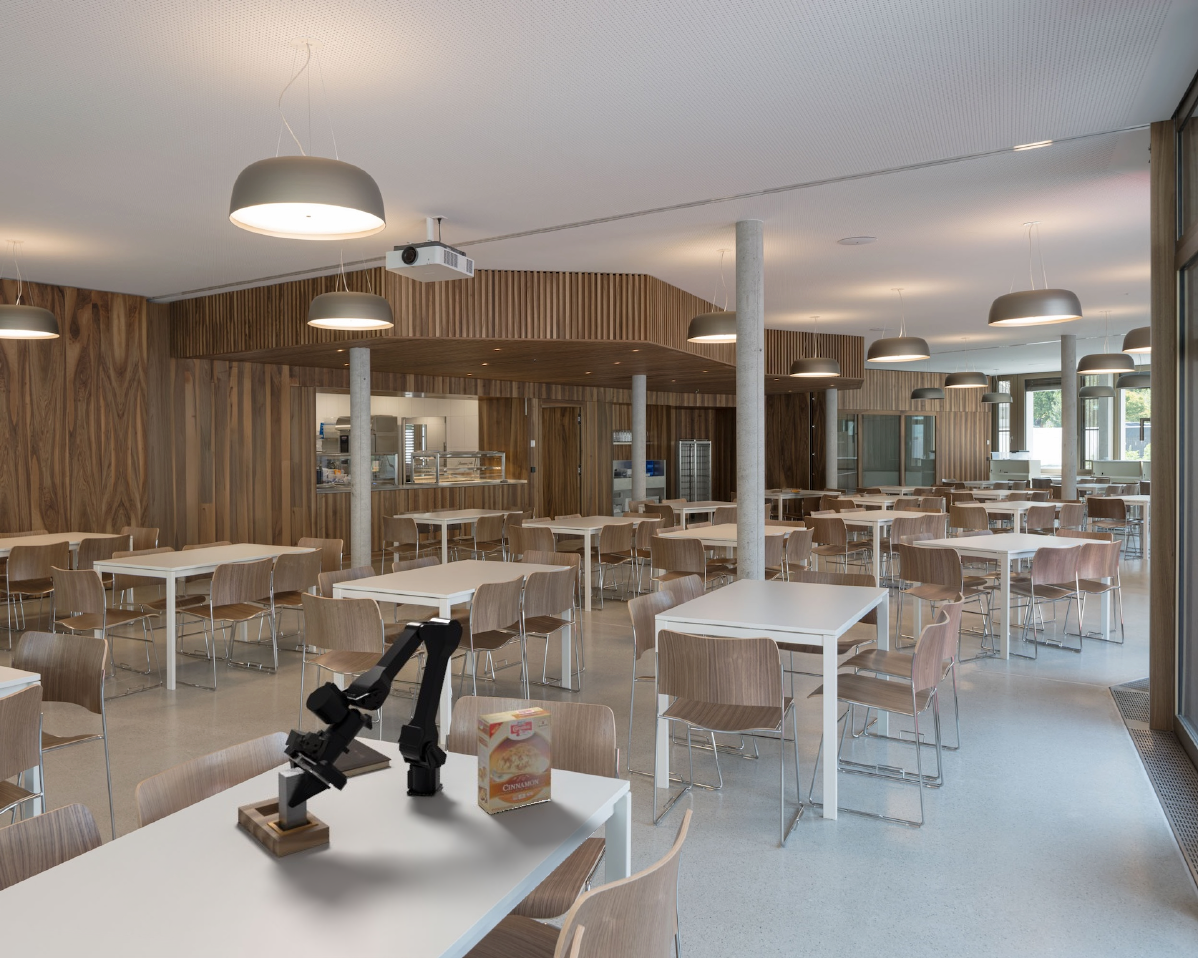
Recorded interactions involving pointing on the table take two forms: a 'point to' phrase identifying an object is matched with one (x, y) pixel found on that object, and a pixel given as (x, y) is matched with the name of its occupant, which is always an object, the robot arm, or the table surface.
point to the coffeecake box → (514, 759)
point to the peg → (287, 789)
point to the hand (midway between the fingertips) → (285, 803)
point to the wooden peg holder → (266, 828)
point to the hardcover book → (360, 759)
